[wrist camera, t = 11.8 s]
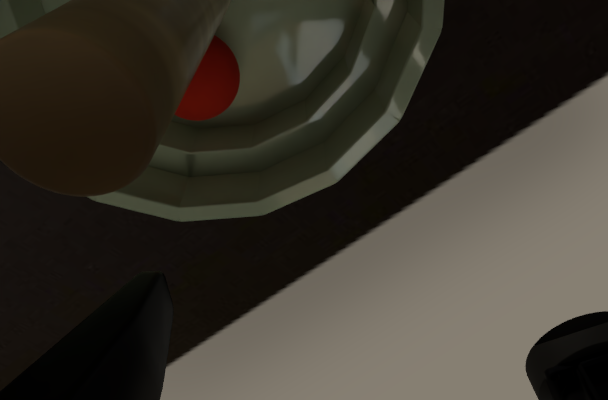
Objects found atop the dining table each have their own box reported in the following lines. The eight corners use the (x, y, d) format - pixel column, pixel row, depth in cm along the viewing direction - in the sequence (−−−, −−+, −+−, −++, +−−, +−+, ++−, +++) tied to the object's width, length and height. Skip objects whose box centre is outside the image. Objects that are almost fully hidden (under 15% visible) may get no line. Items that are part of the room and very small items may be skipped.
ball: (153, 67, 19) (233, 56, 19) (165, 141, 18) (248, 127, 18) (134, 16, 16) (229, 4, 16) (147, 101, 15) (246, 86, 15)
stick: (249, -2, 17) (187, 167, 7) (187, 23, 18) (43, 219, 7) (218, -77, 16) (90, -2, 6) (152, -47, 16) (-77, 71, 6)
